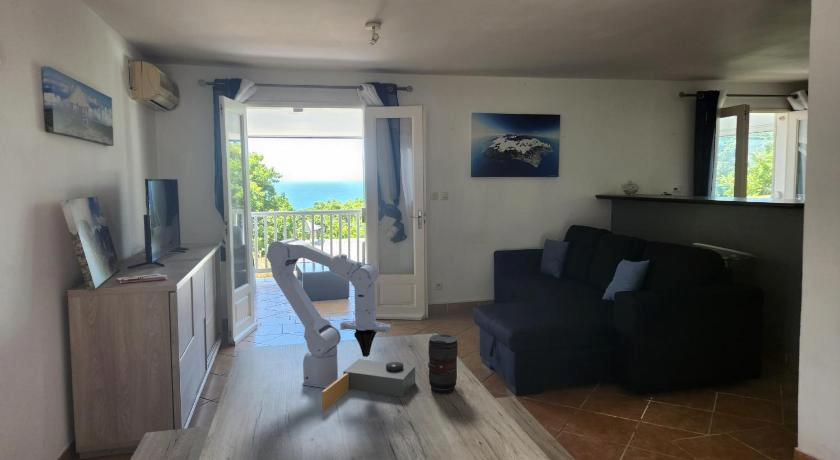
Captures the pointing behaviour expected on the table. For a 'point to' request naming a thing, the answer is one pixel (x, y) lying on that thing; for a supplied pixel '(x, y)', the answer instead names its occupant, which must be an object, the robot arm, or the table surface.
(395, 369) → the camera housing
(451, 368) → the camera lens
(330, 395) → the side door
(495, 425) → the table surface
